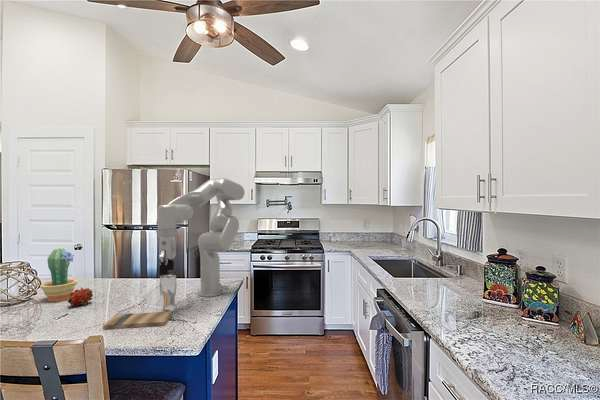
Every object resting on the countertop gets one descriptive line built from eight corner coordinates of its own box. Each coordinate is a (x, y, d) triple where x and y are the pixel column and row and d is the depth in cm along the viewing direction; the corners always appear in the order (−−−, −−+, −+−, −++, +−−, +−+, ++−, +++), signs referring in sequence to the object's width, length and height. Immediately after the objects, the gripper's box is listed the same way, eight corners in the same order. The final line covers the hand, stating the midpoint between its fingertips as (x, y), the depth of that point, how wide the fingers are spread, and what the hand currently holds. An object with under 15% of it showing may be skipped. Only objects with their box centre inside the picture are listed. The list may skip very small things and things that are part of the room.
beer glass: (179, 308, 147) (179, 274, 147) (172, 313, 140) (171, 278, 140) (164, 307, 147) (164, 274, 147) (156, 313, 140) (156, 278, 140)
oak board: (172, 314, 138) (172, 311, 138) (164, 325, 126) (164, 321, 126) (116, 318, 135) (116, 314, 135) (103, 329, 123) (103, 325, 123)
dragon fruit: (95, 304, 159) (71, 316, 147) (83, 293, 160) (58, 304, 149) (100, 291, 156) (76, 302, 145) (88, 280, 158) (63, 290, 146)
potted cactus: (45, 305, 152) (44, 252, 152) (35, 299, 162) (34, 249, 161) (83, 297, 164) (82, 247, 164) (71, 292, 174) (71, 245, 174)
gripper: (171, 234, 135) (170, 276, 135) (180, 231, 152) (180, 268, 152) (151, 234, 134) (151, 276, 134) (163, 231, 151) (163, 268, 151)
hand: (166, 272), depth 143 cm, fingers open, 9 cm apart
